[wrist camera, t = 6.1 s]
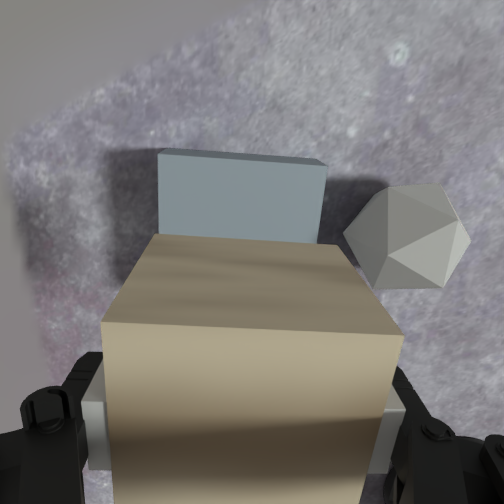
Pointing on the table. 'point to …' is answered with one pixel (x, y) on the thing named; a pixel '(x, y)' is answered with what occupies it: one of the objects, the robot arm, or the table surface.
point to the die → (408, 237)
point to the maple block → (244, 374)
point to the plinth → (240, 195)
